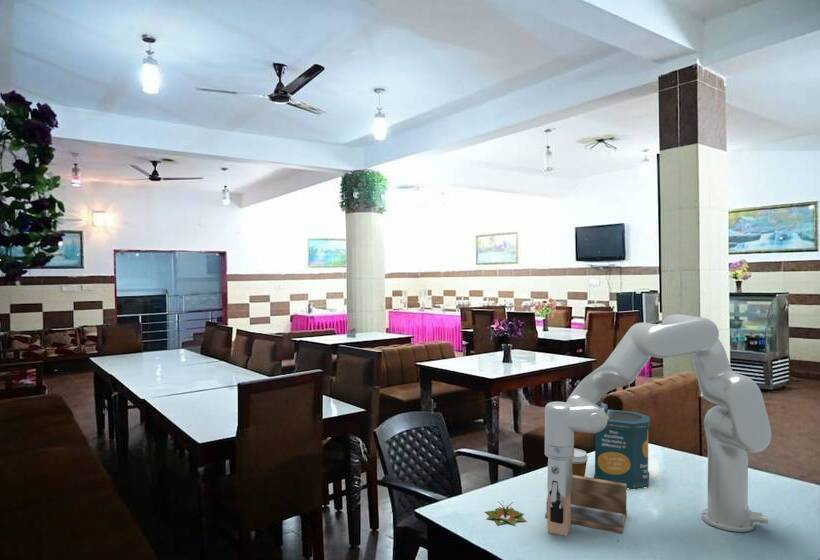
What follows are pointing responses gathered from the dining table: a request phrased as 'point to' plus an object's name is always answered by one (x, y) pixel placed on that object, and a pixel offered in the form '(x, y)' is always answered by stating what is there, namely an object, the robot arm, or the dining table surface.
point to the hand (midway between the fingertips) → (559, 517)
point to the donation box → (623, 448)
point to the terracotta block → (566, 525)
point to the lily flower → (503, 511)
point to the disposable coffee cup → (579, 462)
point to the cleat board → (598, 503)
